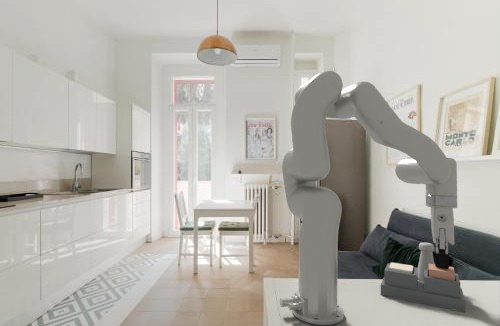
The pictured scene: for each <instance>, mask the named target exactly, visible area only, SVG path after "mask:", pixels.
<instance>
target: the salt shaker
mask: <svg viewBox="0 0 500 326" xmlns="http://www.w3.org/2000/svg"><path fill="white" fill-rule="evenodd" d="M418 249H419V250H420V254H419V255H420V256H419V261H418V265H417V268H418V280H419V281H424V269H429V264H435V258H434V254H433V252H434V251H435V244H433V243H431V242H420V243H419V244H418Z"/></svg>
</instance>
